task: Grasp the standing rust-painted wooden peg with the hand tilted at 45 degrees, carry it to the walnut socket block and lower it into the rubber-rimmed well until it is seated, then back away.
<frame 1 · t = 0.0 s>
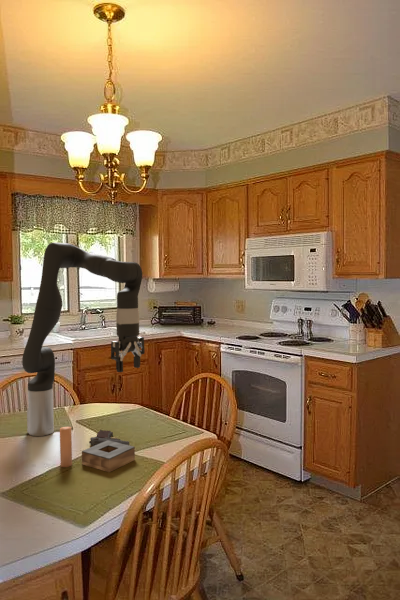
hand: (128, 369, 163), 29 cm above the table, tool pointing down, fingers open, 8 cm apart
socket: (108, 462, 159), on the table
pistol: (113, 443, 178), on the table
peg: (66, 464, 157), on the table
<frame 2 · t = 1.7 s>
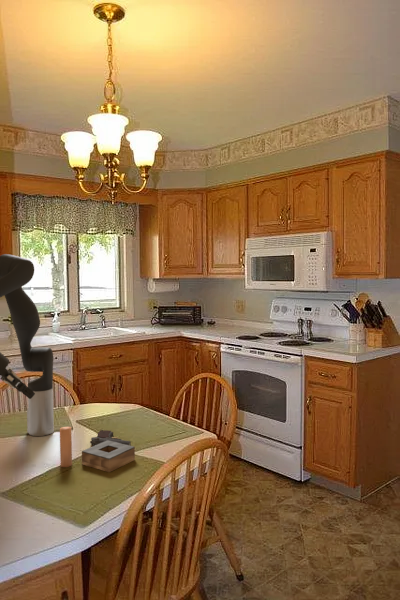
hand: (29, 393, 150), 25 cm above the table, tool tilted 45°, fingers open, 8 cm apart
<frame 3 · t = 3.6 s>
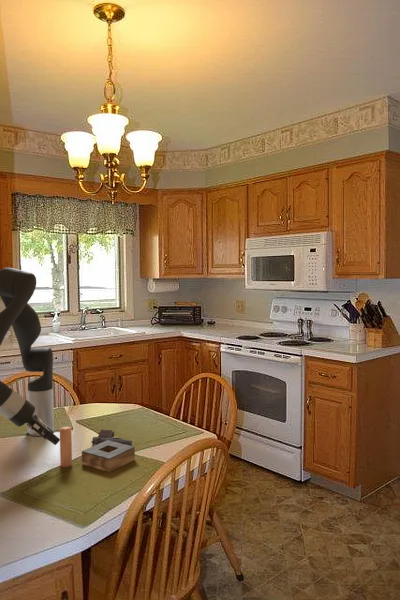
hand: (54, 438, 155), 9 cm above the table, tool tilted 45°, fingers open, 8 cm apart
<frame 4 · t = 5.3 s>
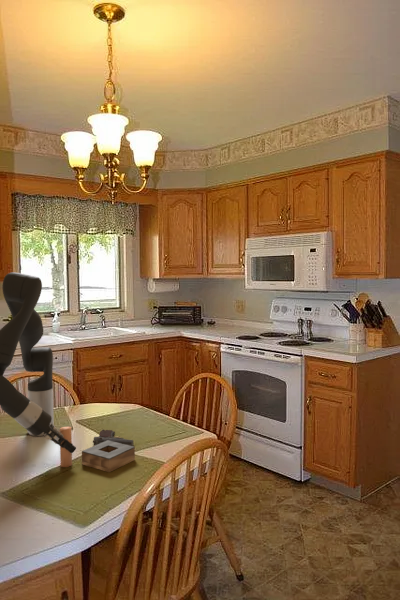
hand: (72, 448, 158), 5 cm above the table, tool tilted 45°, fingers closed on peg, 3 cm apart
peg: (66, 464, 157), on the table, touching gripper
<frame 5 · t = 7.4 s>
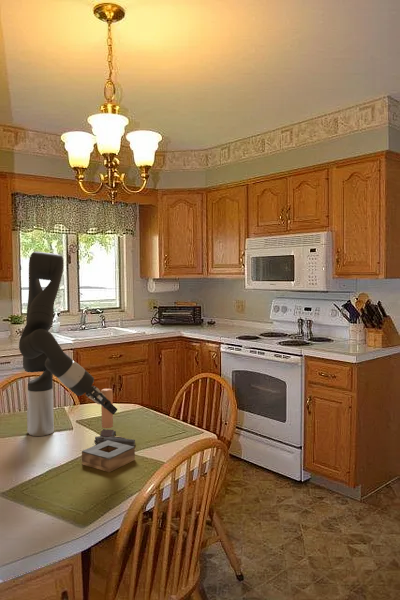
hand: (113, 410, 159), 17 cm above the table, tool tilted 45°, fingers closed on peg, 3 cm apart
peg: (107, 426, 158), point 12 cm above the table, touching gripper
when the fingers open (7 cm above the table, at t = 10.0 s): peg stays where it is, resting on socket.
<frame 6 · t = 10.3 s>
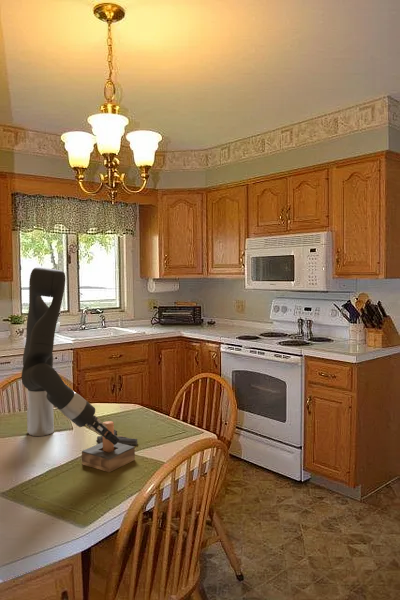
hand: (113, 439, 160), 7 cm above the table, tool tilted 45°, fingers open, 5 cm apart
peg: (108, 459, 159), point 1 cm above the table, touching socket
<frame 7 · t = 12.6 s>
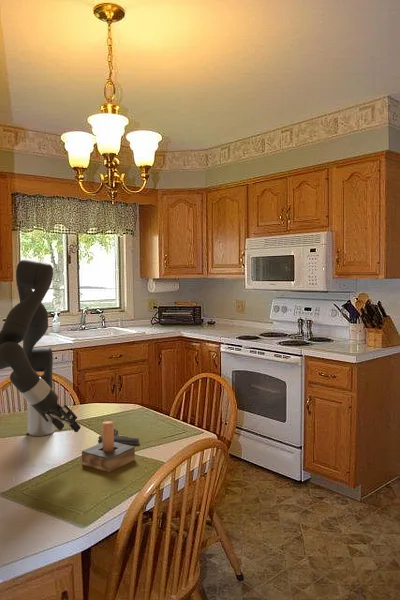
hand: (70, 429, 155), 12 cm above the table, tool tilted 35°, fingers open, 8 cm apart
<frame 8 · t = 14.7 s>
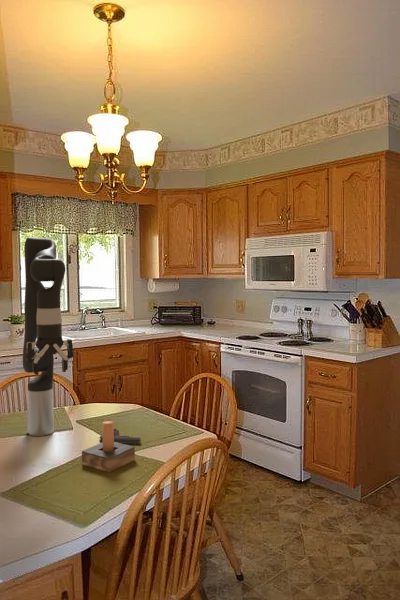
hand: (50, 373, 154), 30 cm above the table, tool pointing down, fingers open, 8 cm apart
at the end: peg 0.1 cm off-centre on the socket, point 1.0 cm above the socket's base; peg tilted 0°; the gripper is holding nothing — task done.
